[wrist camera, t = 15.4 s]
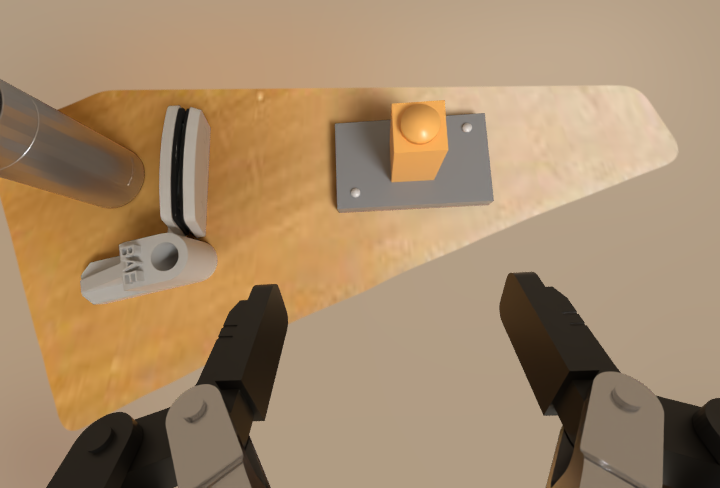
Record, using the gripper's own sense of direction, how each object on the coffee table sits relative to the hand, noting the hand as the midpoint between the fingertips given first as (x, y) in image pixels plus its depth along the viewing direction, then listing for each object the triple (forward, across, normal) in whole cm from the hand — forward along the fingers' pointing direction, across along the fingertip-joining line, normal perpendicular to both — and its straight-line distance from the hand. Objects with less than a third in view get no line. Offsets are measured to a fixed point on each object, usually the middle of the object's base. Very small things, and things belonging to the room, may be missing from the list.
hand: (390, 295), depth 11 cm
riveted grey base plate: (+33, -5, +9) cm, 35 cm away
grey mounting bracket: (+24, +32, +18) cm, 44 cm away
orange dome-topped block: (+32, -5, +8) cm, 33 cm away
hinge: (+33, +25, +10) cm, 43 cm away
